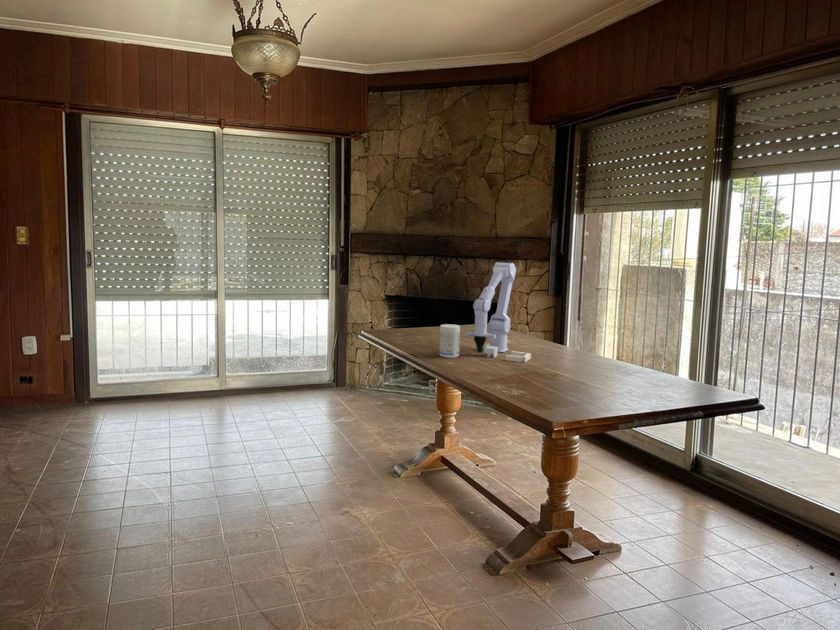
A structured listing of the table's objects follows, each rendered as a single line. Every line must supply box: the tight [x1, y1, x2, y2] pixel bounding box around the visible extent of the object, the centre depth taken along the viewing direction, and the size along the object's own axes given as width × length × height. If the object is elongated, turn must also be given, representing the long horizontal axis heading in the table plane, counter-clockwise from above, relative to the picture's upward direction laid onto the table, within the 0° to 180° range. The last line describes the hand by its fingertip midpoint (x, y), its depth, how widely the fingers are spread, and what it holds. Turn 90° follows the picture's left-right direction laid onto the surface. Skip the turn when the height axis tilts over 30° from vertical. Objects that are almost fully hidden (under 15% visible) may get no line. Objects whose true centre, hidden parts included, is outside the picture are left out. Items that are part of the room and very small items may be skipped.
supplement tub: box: [438, 323, 461, 359], centre depth 300 cm, size 10×10×15 cm
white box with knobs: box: [482, 343, 499, 359], centre depth 304 cm, size 7×5×6 cm
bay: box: [505, 350, 532, 363], centre depth 299 cm, size 11×9×2 cm
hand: (479, 352), depth 306 cm, fingers closed
